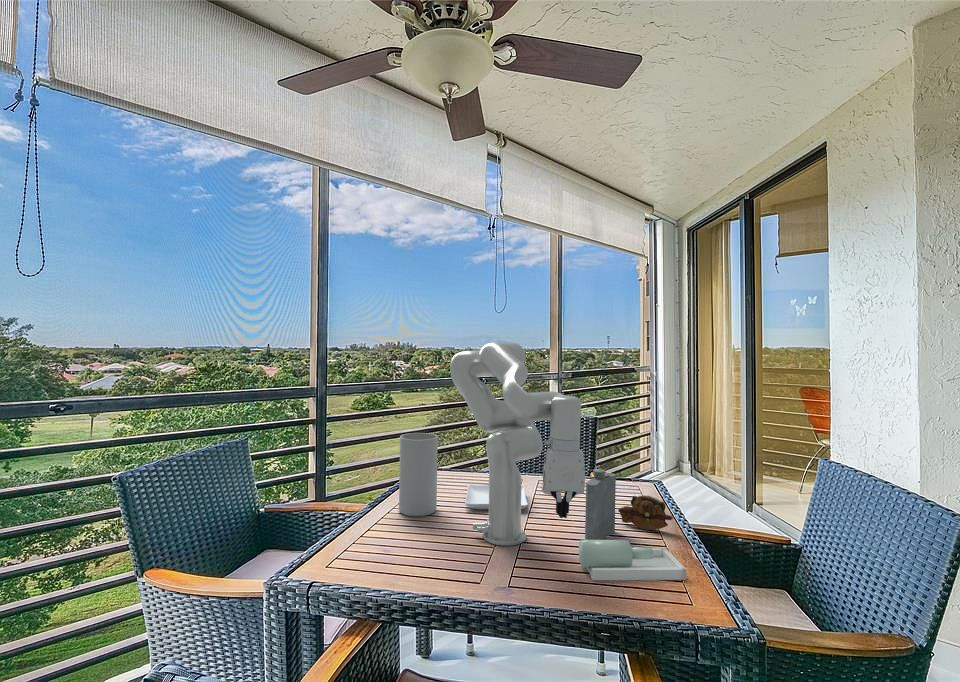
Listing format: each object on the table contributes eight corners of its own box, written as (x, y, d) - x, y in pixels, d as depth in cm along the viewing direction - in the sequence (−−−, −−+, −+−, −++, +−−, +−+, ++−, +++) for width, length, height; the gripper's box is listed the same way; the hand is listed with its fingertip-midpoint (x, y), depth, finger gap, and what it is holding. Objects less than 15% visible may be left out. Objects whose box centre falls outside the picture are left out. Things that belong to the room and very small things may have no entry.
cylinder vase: (396, 517, 164) (397, 439, 164) (401, 504, 177) (402, 432, 177) (435, 517, 165) (436, 440, 164) (437, 504, 177) (438, 433, 177)
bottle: (585, 547, 126) (656, 547, 127) (579, 535, 132) (647, 535, 133) (584, 572, 127) (655, 572, 127) (578, 558, 133) (646, 558, 134)
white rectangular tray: (592, 580, 123) (592, 570, 123) (579, 557, 136) (580, 548, 136) (686, 579, 124) (686, 569, 124) (664, 557, 137) (665, 548, 137)
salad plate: (528, 514, 170) (528, 504, 170) (464, 512, 170) (464, 502, 170) (523, 494, 191) (523, 485, 191) (467, 493, 192) (467, 484, 192)
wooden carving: (616, 526, 159) (617, 494, 159) (619, 522, 164) (620, 491, 163) (672, 536, 152) (673, 503, 152) (674, 531, 156) (674, 498, 156)
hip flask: (593, 548, 143) (594, 476, 143) (580, 544, 145) (581, 474, 145) (616, 531, 155) (617, 466, 155) (603, 528, 158) (605, 464, 158)
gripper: (538, 447, 125) (536, 521, 126) (597, 448, 126) (595, 521, 127) (532, 441, 133) (530, 510, 133) (589, 441, 134) (586, 511, 134)
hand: (562, 516), depth 130 cm, fingers closed
